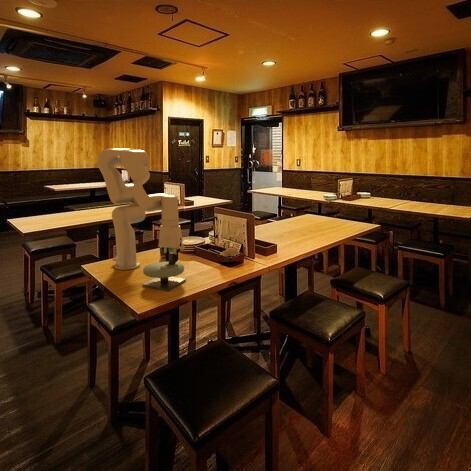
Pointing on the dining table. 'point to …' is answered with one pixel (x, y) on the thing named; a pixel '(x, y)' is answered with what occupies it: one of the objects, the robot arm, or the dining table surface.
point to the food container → (164, 253)
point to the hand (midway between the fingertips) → (171, 260)
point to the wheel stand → (164, 283)
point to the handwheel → (164, 268)
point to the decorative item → (230, 252)
